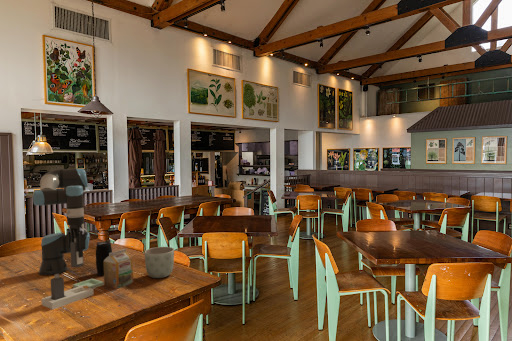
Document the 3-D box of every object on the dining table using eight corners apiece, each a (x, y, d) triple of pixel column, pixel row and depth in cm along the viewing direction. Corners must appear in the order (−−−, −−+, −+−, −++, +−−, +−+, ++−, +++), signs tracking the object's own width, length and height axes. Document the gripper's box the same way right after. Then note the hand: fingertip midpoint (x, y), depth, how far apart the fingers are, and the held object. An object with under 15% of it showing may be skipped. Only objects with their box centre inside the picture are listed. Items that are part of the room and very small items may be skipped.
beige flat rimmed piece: (41, 305, 164) (41, 297, 164) (82, 292, 180) (82, 283, 180) (52, 310, 158) (52, 301, 158) (93, 295, 175) (93, 287, 175)
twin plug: (51, 303, 165) (50, 274, 164) (60, 301, 168) (59, 272, 168) (55, 305, 162) (54, 276, 162) (64, 302, 166) (63, 273, 165)
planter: (180, 273, 207) (180, 248, 207) (161, 282, 192) (161, 255, 192) (158, 270, 215) (157, 245, 214) (138, 278, 199) (137, 252, 199)
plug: (71, 266, 172) (70, 238, 172) (79, 264, 176) (78, 237, 175) (75, 267, 170) (74, 239, 170) (83, 265, 173) (82, 237, 173)
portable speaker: (110, 276, 205) (109, 243, 204) (93, 277, 204) (92, 244, 203) (114, 271, 213) (113, 240, 212) (99, 272, 212) (98, 240, 212)
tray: (73, 288, 186) (73, 284, 186) (92, 281, 196) (92, 278, 195) (84, 292, 180) (84, 288, 180) (103, 285, 189) (103, 281, 189)
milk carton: (116, 290, 182) (115, 254, 182) (104, 286, 188) (103, 252, 187) (133, 283, 191) (132, 249, 191) (121, 280, 197) (119, 247, 196)
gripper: (58, 216, 174) (60, 262, 174) (77, 218, 165) (79, 267, 165) (73, 214, 180) (75, 258, 181) (92, 216, 171) (94, 263, 171)
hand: (77, 262), depth 173 cm, fingers closed on plug, 4 cm apart
